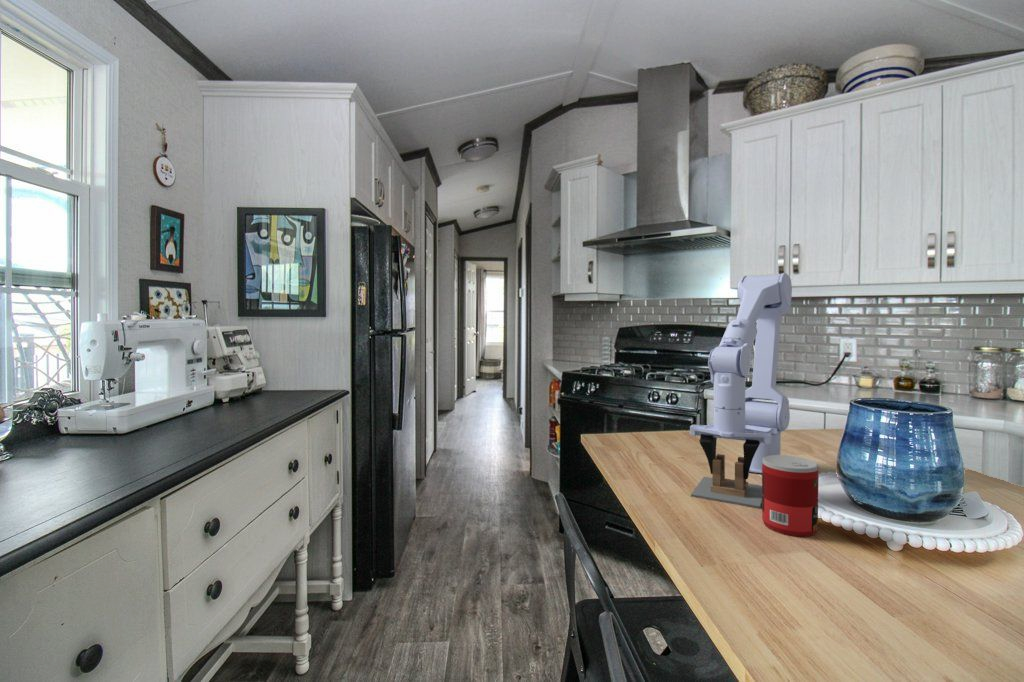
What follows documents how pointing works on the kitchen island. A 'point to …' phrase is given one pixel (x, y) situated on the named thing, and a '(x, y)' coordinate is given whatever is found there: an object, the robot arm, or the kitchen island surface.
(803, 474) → the canned food
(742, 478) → the stool
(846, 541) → the kitchen island surface
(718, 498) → the mat
